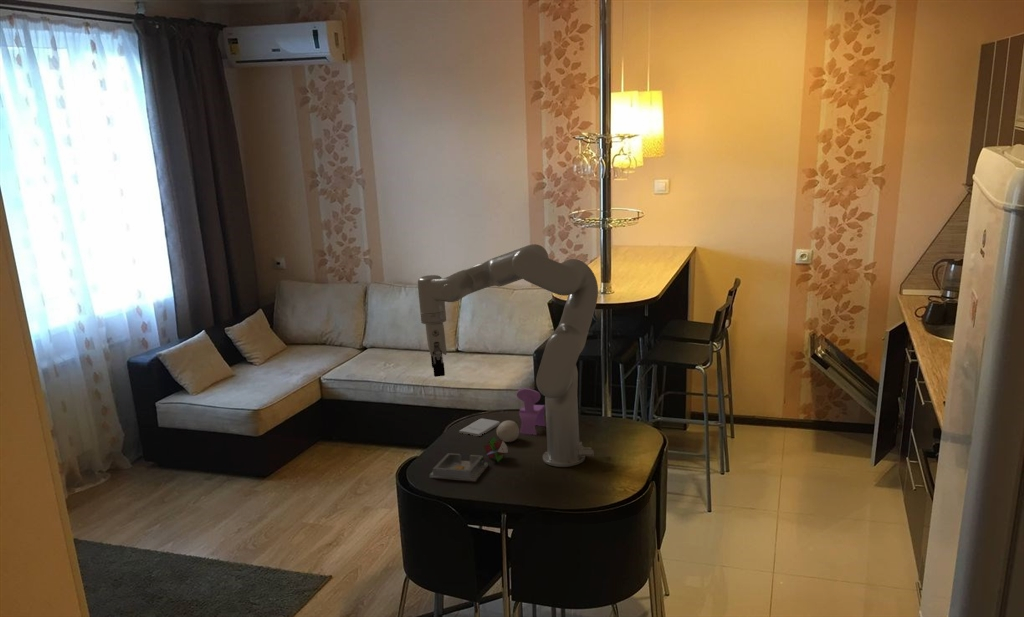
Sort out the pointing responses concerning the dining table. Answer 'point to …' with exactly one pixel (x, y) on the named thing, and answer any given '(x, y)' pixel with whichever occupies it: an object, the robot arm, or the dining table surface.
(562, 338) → the robot arm
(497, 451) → the geometric puzzle
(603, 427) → the dining table surface
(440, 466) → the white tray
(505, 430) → the baseball
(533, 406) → the toy chair
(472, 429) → the external hard drive
